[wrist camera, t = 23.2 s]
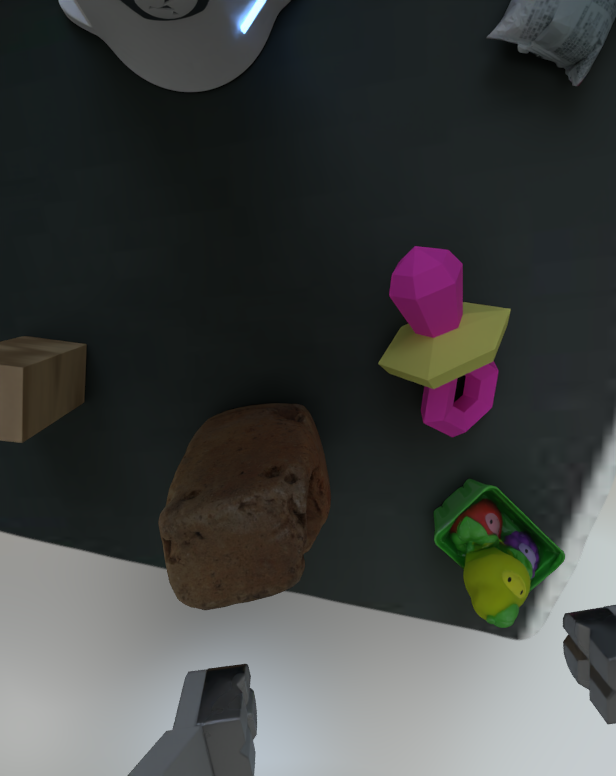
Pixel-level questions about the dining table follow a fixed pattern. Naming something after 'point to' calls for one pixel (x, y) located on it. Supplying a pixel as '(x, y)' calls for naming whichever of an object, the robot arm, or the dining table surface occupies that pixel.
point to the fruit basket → (494, 549)
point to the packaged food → (559, 31)
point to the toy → (444, 340)
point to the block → (245, 506)
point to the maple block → (38, 384)
